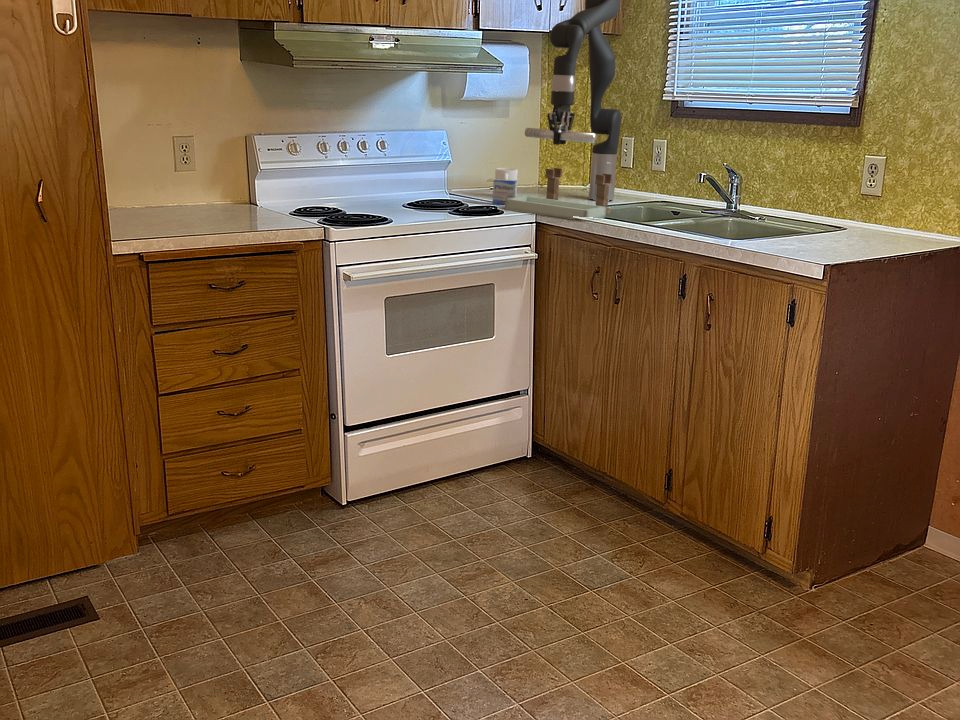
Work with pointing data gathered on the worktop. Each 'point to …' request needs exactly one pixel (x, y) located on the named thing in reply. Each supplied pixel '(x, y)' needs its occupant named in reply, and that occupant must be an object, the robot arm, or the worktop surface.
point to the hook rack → (600, 181)
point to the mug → (506, 174)
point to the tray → (554, 207)
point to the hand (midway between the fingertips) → (559, 144)
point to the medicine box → (503, 190)
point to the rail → (564, 135)
